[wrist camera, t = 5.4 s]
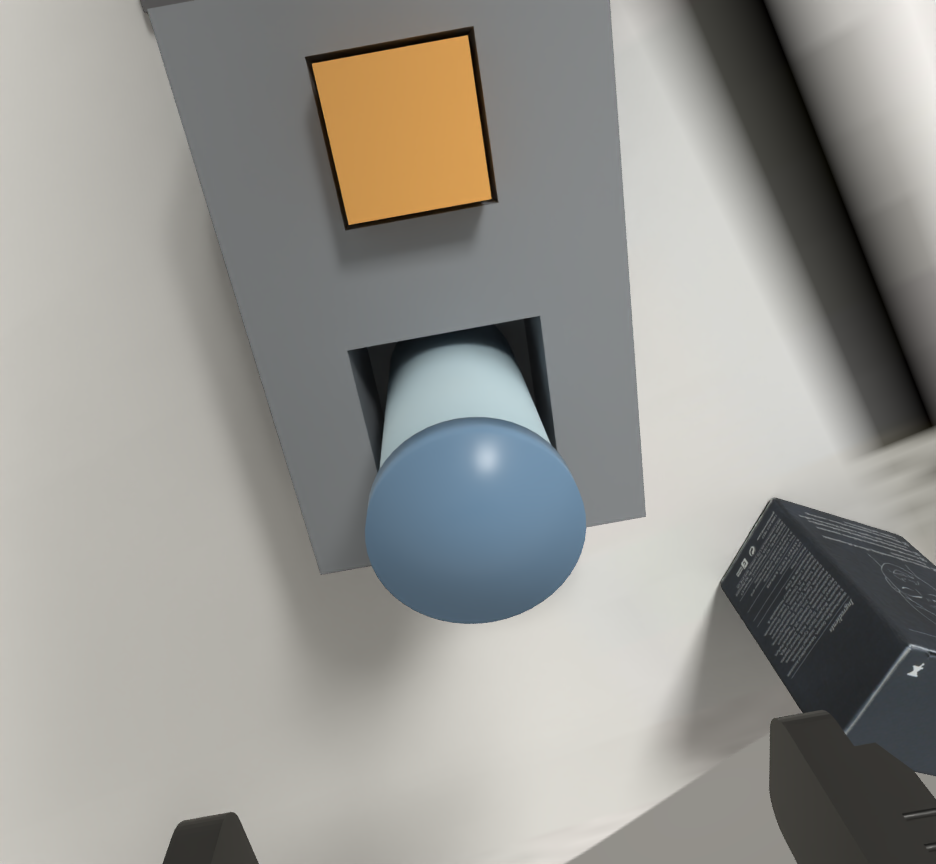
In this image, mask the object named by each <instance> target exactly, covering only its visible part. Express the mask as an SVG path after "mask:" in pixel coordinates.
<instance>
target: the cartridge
mask: <svg viewBox="0 0 936 864" xmlns="http://www.w3.org/2000/svg"><path fill="white" fill-rule="evenodd" d="M585 533H586V514H585V509H584V504H583V501H582V498H581V495H580V492H579V490H578V487H577V485H576V483H575V481H574V478H573V476H572V474H571V472H570V470H569V468H568V466H567V464H566V462H565V461H564V459H563V458H562V457H561V455H560V454H559V453H558V451H557V450H556V449H555V448H554V447H553V446H552V445H551V444H550V441H549V439H548V437H547V434H546V432H545V429H544V427H543V424H542V422H541V420H540V417H539V415H538V412H537V410H536V407H535V405H534V403H533V400H532V398H531V395H530V393H529V391H528V388H527V386H526V383H525V381H524V378H523V376H522V374H521V371H520V369H519V366H518V364H517V361H516V359H515V357H514V354H513V352H512V349H511V347H510V345H509V343H508V341H507V339H506V338H505V336H504V335H503V334H502V332H501V331H500V330H499V329H498V328H497V327H496V326H494V325H493V324H492V325H486V326H481V327H475V328H470V329H464V330H458V331H453V332H447V333H442V334H436V335H431V336H425V337H420V338H414V339H409V340H403V341H398V342H397V344H396V346H395V349H394V351H393V354H392V358H391V363H390V371H389V381H388V391H387V401H386V411H385V420H384V430H383V440H382V450H381V460H380V469H379V471H378V473H377V475H376V477H375V479H374V482H373V484H372V487H371V491H370V494H369V500H368V508H367V517H366V525H365V543H366V548H367V554H368V557H369V560H370V562H371V565H372V567H373V569H374V571H375V573H376V575H377V577H378V578H379V580H380V581H381V582H382V584H383V585H384V586H385V588H386V589H387V590H388V591H389V592H390V593H391V594H392V595H393V596H394V597H396V598H397V599H398V600H399V601H401V602H402V603H403V604H405V605H406V606H408V607H410V608H411V609H413V610H415V611H417V612H419V613H421V614H424V615H426V616H429V617H432V618H435V619H438V620H442V621H447V622H452V623H464V624H476V623H487V622H494V621H498V620H503V619H507V618H510V617H513V616H515V615H518V614H521V613H523V612H525V611H527V610H529V609H531V608H533V607H534V606H536V605H538V604H539V603H541V602H543V601H544V600H545V599H546V598H548V597H549V596H550V595H552V594H553V593H554V592H555V591H556V590H557V589H558V588H559V587H560V586H561V585H562V584H563V583H564V581H565V580H566V579H567V578H568V576H569V575H570V574H571V572H572V570H573V569H574V567H575V565H576V563H577V561H578V559H579V557H580V554H581V552H582V548H583V544H584V541H585Z"/></svg>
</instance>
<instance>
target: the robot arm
mask: <svg viewBox="0 0 936 864" xmlns="http://www.w3.org/2000/svg"><path fill="white" fill-rule="evenodd" d="M769 776H770V777H769V779H770V780H769V790H770V798H771V802H772V807H773V810H774V813H775V817H776V820H777V823H778V825H779V828H780V830H781V832H782V834H783V836H784V839H785V840H786V842H787V844H788V846H789V848H790V850H791V852H792V854H793V856H794V857H795V860H796V862H797V864H936V799H935V798H934V796H933V795H932V794H931V793H930V791H929V790H928V789H927V787H926V786H925V785H924V784H923V782H922V781H921V780H920V778H919V777H918V776H917V775H916V773H915V772H914V771H913V770H912V769H911V768H909V767H908V766H907V765H905V764H904V763H903V762H901V761H900V760H899V759H897V758H896V757H894V756H893V755H892V754H890V753H889V752H888V751H886V750H885V749H884V748H882V747H881V746H880V745H878V744H877V743H876V742H875V743H869V744H864V745H858V746H854V745H853V744H852V742H851V741H850V740H849V738H848V737H847V735H846V734H845V732H844V731H843V730H842V728H841V727H840V725H839V724H838V723H837V721H836V720H835V719H834V717H833V716H832V715H831V714H830V713H828V712H827V711H825V710H819V711H813V712H808V713H802V714H796V715H791V716H785V717H779V718H774V719H773V720H772V721H771V725H770V775H769ZM163 864H259V863H258V861H257V859H256V856H255V854H254V852H253V850H252V847H251V845H250V843H249V840H248V838H247V836H246V833H245V831H244V829H243V826H242V824H241V822H240V820H239V818H238V816H237V815H236V814H235V813H234V812H230V813H224V814H218V815H213V816H207V817H201V818H196V819H190V820H184V821H182V822H180V823H179V824H178V826H177V827H176V829H175V831H174V833H173V835H172V838H171V841H170V844H169V847H168V850H167V853H166V856H165V858H164V861H163Z"/></svg>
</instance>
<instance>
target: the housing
mask: <svg viewBox="0 0 936 864" xmlns="http://www.w3.org/2000/svg"><path fill="white" fill-rule="evenodd" d="M147 11H148V14H149V17H150V21H151V24H152V27H153V30H154V34H155V37H156V40H157V43H158V47H159V50H160V53H161V56H162V60H163V63H164V66H165V69H166V73H167V76H168V79H169V82H170V86H171V89H172V92H173V95H174V99H175V102H176V105H177V108H178V112H179V115H180V118H181V121H182V125H183V128H184V131H185V134H186V138H187V141H188V144H189V147H190V151H191V154H192V157H193V160H194V164H195V167H196V170H197V173H198V177H199V180H200V183H201V186H202V190H203V193H204V196H205V199H206V203H207V206H208V209H209V212H210V216H211V219H212V222H213V225H214V229H215V232H216V235H217V238H218V242H219V245H220V248H221V251H222V255H223V258H224V261H225V264H226V268H227V271H228V274H229V278H230V281H231V284H232V287H233V291H234V294H235V297H236V300H237V304H238V307H239V310H240V313H241V317H242V320H243V323H244V326H245V330H246V333H247V336H248V339H249V343H250V346H251V349H252V352H253V356H254V359H255V362H256V365H257V369H258V372H259V375H260V378H261V382H262V385H263V388H264V391H265V395H266V398H267V401H268V404H269V408H270V411H271V414H272V417H273V421H274V424H275V427H276V430H277V434H278V437H279V440H280V443H281V447H282V450H283V453H284V456H285V460H286V463H287V466H288V469H289V473H290V476H291V479H292V482H293V486H294V489H295V492H296V495H297V499H298V502H299V505H300V508H301V512H302V515H303V518H304V521H305V525H306V528H307V531H308V534H309V538H310V541H311V544H312V547H313V551H314V554H315V557H316V560H317V564H318V567H319V570H320V573H321V575H322V574H328V573H333V572H339V571H345V570H350V569H356V568H361V567H367V566H372V565H371V562H370V560H369V557H368V554H367V548H366V543H365V525H366V517H367V508H368V500H369V494H370V491H371V487H372V484H373V482H374V479H375V477H376V475H377V473H378V471H379V469H380V460H381V450H382V440H383V430H384V420H385V411H386V401H387V391H388V381H389V371H390V363H391V358H392V354H393V351H394V349H395V346H396V344H397V342H398V341H403V340H409V339H414V338H420V337H425V336H431V335H436V334H442V333H447V332H453V331H458V330H464V329H470V328H475V327H481V326H486V325H492V324H493V325H494V326H496V327H497V328H498V329H499V330H500V331H501V332H502V334H503V335H504V336H505V338H506V339H507V341H508V343H509V345H510V347H511V349H512V352H513V354H514V357H515V359H516V361H517V364H518V366H519V369H520V371H521V374H522V376H523V378H524V381H525V383H526V386H527V388H528V391H529V393H530V395H531V398H532V400H533V403H534V405H535V407H536V410H537V412H538V415H539V417H540V420H541V422H542V424H543V427H544V429H545V432H546V434H547V437H548V439H549V441H550V444H551V445H552V446H553V447H554V448H555V449H556V450H557V451H558V453H559V454H560V455H561V457H562V458H563V459H564V461H565V462H566V464H567V466H568V468H569V470H570V472H571V474H572V476H573V478H574V481H575V483H576V485H577V487H578V490H579V492H580V495H581V498H582V501H583V504H584V509H585V514H586V527H591V526H596V525H602V524H608V523H613V522H619V521H624V520H630V519H636V518H641V517H646V512H645V497H644V483H643V469H642V454H641V440H640V426H639V411H638V397H637V383H636V369H635V354H634V340H633V326H632V311H631V297H630V283H629V269H628V254H627V240H626V226H625V211H624V197H623V183H622V168H621V154H620V140H619V126H618V111H617V97H616V83H615V68H614V54H613V40H612V25H611V11H610V0H194V1H188V2H183V3H177V4H172V5H166V6H161V7H156V8H150V9H147ZM466 35H468V40H469V47H470V53H471V60H472V67H473V74H474V81H475V88H476V95H477V102H478V109H479V116H480V122H481V129H482V136H483V143H484V150H485V157H486V164H487V171H488V178H489V185H490V191H491V198H492V199H489V200H483V201H478V202H472V203H467V204H461V205H456V206H450V207H445V208H439V209H434V210H428V211H423V212H417V213H412V214H406V215H401V216H395V217H390V218H384V219H379V220H373V221H368V222H362V223H357V224H351V225H349V224H348V219H347V215H346V211H345V206H344V202H343V198H342V193H341V189H340V184H339V180H338V176H337V171H336V167H335V163H334V158H333V154H332V150H331V145H330V141H329V137H328V132H327V128H326V123H325V119H324V115H323V110H322V106H321V102H320V97H319V93H318V89H317V84H316V80H315V75H314V71H313V67H312V64H313V63H318V62H324V61H329V60H335V59H340V58H345V57H351V56H356V55H362V54H367V53H373V52H378V51H384V50H389V49H395V48H400V47H406V46H411V45H416V44H422V43H427V42H433V41H438V40H444V39H449V38H455V37H460V36H466Z"/></svg>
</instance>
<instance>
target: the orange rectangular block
mask: <svg viewBox="0 0 936 864" xmlns="http://www.w3.org/2000/svg"><path fill="white" fill-rule="evenodd" d="M312 67H313V71H314V75H315V80H316V84H317V89H318V93H319V97H320V102H321V106H322V110H323V115H324V119H325V123H326V128H327V132H328V137H329V141H330V145H331V150H332V154H333V158H334V163H335V167H336V171H337V176H338V180H339V184H340V189H341V193H342V198H343V202H344V206H345V211H346V215H347V219H348V224H349V225H351V224H357V223H362V222H368V221H373V220H379V219H384V218H390V217H395V216H401V215H406V214H412V213H417V212H423V211H428V210H434V209H439V208H445V207H450V206H456V205H461V204H467V203H472V202H478V201H483V200H489V199H492V198H491V191H490V185H489V178H488V171H487V164H486V157H485V150H484V143H483V136H482V129H481V122H480V116H479V109H478V102H477V95H476V88H475V81H474V74H473V67H472V60H471V53H470V47H469V40H468V35H466V36H460V37H455V38H449V39H444V40H438V41H433V42H427V43H422V44H416V45H411V46H406V47H400V48H395V49H389V50H384V51H378V52H373V53H367V54H362V55H356V56H351V57H345V58H340V59H335V60H329V61H324V62H318V63H313V64H312Z"/></svg>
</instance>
